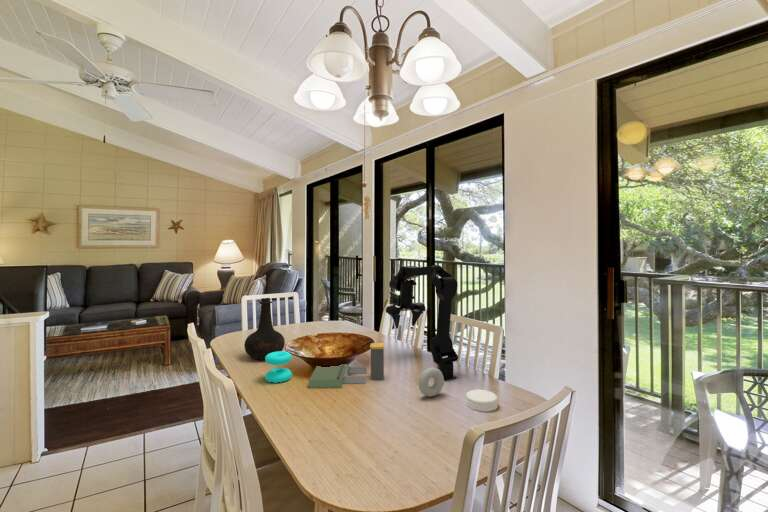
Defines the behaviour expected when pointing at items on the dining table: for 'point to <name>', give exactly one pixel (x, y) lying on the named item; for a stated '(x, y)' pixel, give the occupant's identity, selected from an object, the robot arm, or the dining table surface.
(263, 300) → the dark bulbous vase
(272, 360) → the donuts
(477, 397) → the white round disc
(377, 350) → the grey tan rectangular block
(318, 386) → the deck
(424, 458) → the dining table surface
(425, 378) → the donut
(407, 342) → the dining table surface
